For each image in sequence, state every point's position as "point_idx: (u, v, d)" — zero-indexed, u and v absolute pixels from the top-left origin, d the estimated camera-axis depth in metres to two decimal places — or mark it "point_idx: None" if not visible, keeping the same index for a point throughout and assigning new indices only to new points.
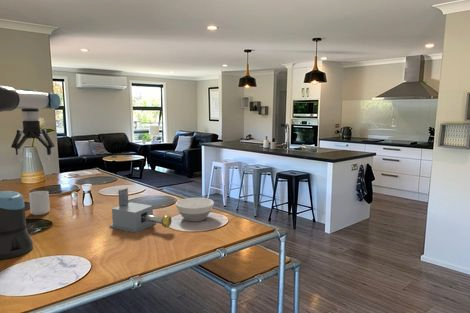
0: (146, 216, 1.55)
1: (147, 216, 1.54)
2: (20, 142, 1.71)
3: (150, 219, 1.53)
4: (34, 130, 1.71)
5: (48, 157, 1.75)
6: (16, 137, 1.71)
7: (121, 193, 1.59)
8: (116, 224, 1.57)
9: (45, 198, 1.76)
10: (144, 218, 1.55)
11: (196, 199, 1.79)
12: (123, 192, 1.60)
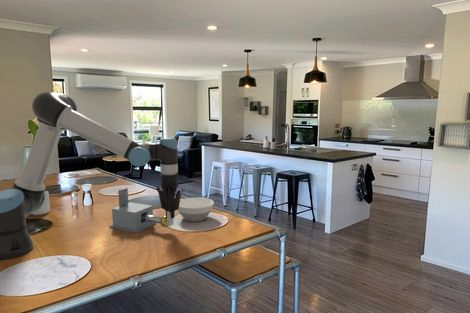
0: (145, 216, 1.55)
1: (147, 216, 1.55)
2: (165, 201, 1.48)
3: (149, 219, 1.54)
4: (172, 184, 1.46)
5: (171, 221, 1.50)
6: (160, 196, 1.49)
7: (121, 193, 1.59)
8: (116, 224, 1.57)
9: (45, 198, 1.76)
10: (143, 218, 1.55)
11: (196, 199, 1.79)
12: (123, 192, 1.60)
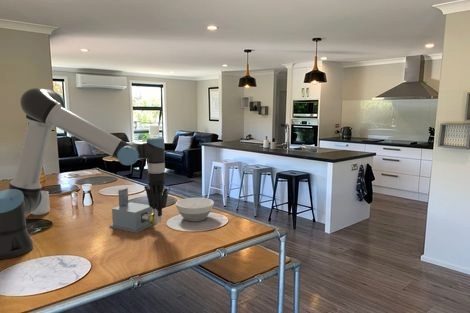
0: None
1: None
2: (153, 200, 1.51)
3: None
4: (159, 182, 1.49)
5: (159, 218, 1.53)
6: (147, 194, 1.52)
7: (121, 193, 1.59)
8: (116, 224, 1.57)
9: (45, 198, 1.76)
10: None
11: (196, 199, 1.79)
12: (123, 192, 1.60)
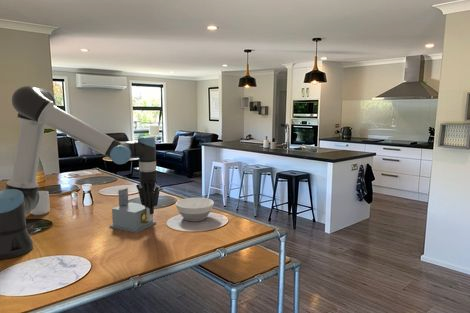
0: None
1: None
2: (145, 198, 1.53)
3: None
4: (151, 181, 1.51)
5: (151, 216, 1.55)
6: (139, 193, 1.54)
7: (121, 193, 1.59)
8: (116, 224, 1.57)
9: (45, 198, 1.76)
10: None
11: (196, 199, 1.79)
12: (123, 192, 1.60)
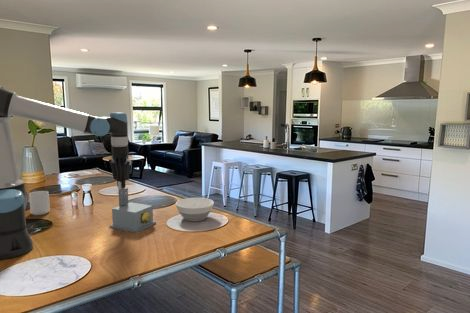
0: None
1: None
2: (116, 172, 1.59)
3: None
4: (122, 155, 1.56)
5: None
6: (112, 167, 1.60)
7: (121, 193, 1.59)
8: (116, 224, 1.57)
9: (45, 198, 1.76)
10: None
11: (196, 199, 1.79)
12: (123, 192, 1.60)
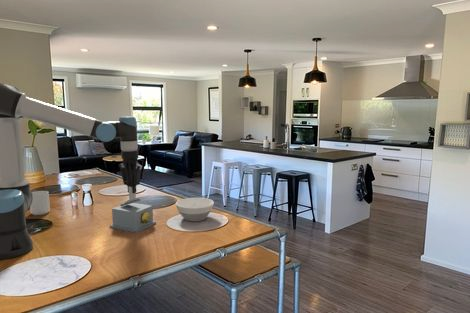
0: None
1: None
2: (127, 177, 1.57)
3: None
4: (132, 160, 1.54)
5: (133, 195, 1.58)
6: (122, 172, 1.58)
7: None
8: (116, 224, 1.57)
9: (45, 198, 1.76)
10: None
11: (196, 199, 1.79)
12: None
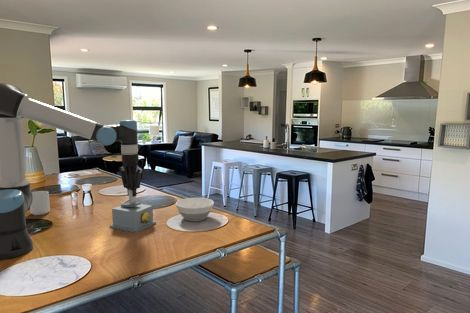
0: None
1: None
2: (127, 180, 1.57)
3: None
4: (132, 163, 1.54)
5: (133, 199, 1.58)
6: (122, 175, 1.58)
7: None
8: (116, 224, 1.57)
9: (45, 198, 1.76)
10: None
11: (196, 199, 1.79)
12: None
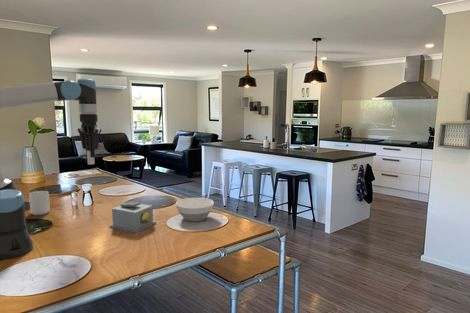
0: None
1: None
2: (85, 141, 1.56)
3: None
4: (90, 123, 1.53)
5: (92, 160, 1.57)
6: (81, 136, 1.57)
7: None
8: (116, 224, 1.57)
9: (45, 198, 1.76)
10: None
11: (196, 199, 1.79)
12: None
